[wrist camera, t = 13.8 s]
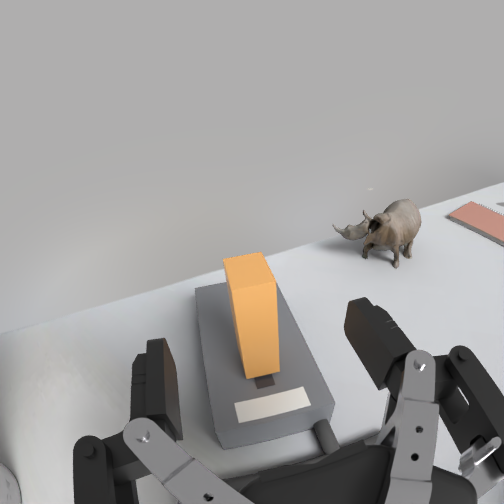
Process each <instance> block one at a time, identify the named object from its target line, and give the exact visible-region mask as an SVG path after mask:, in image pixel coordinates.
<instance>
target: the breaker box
mask: <svg viewBox="0 0 504 504" xmlns="http://www.w3.org/2000/svg"><path fill="white" fill-rule="evenodd" d="M276 291H277V312H278V336H279V364H280V372H276V373H271V374H267V375H263V376H259V377H254V378H250V379H246V376H245V372H244V368H243V364H242V361H241V357H240V353H239V349H238V345H237V339H236V334H235V328H234V322H233V317H232V311H231V305H230V299H229V293H228V287H227V282H225V283H220V284H214V285H209V286H204V287H198V288H195V295H196V304H197V313H198V321H199V329H200V337H201V345H202V352H203V359H204V366H205V373H206V380H207V386H208V393H209V399H210V405H211V411H212V417H213V422H214V428H215V433H216V435H217V437H218V439H219V441H220V443H221V446H222V448H223V450H225V449H231V448H236V447H241V446H246V445H251V444H256V443H260V442H264V441H269V440H273V439H277V438H281V437H284V436H288V435H292V434H295V433H299V432H302V431H306V430H309V429H312V428H314V426H313V425H314V423H316V422H317V421H319V420H322V419H327V420H328V422H329V423H330V420H331V417H332V413H333V409H334V406H335V401H334V399H333V397H332V395H331V393H330V391H329V388H328V386H327V384H326V382H325V380H324V378H323V376H322V374H321V372H320V370H319V368H318V366H317V364H316V362H315V360H314V358H313V356H312V354H311V352H310V350H309V347H308V345H307V343H306V341H305V339H304V337H303V335H302V333H301V331H300V329H299V327H298V325H297V323H296V321H295V319H294V317H293V315H292V313H291V311H290V309H289V307H288V305H287V303H286V301H285V299H284V297H283V295H282V293H281V291H280V289H279V287H278V285H277V283H276Z"/></svg>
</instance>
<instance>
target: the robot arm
mask: <svg viewBox="0 0 504 504" xmlns="http://www.w3.org/2000/svg"><path fill="white" fill-rule="evenodd" d="M344 331H345V335H346V337H347V339H348V340H349V342H350V344H351V345H352V347H353V349H354V350H355V352H356V353H357V355H358V357H359V358H360V360H361V362H362V363H363V365H364V367H365V368H366V370H367V372H368V373H369V375H370V377H371V378H372V380H373V382H374V383H375V385H376V387H377V388H378V390H381V389H384V388H386V387H387V388H388V389H389V393H388V397H387V403H386V408H385V413H384V418H383V423H382V427H381V430H380V433H379V435H378V437H377V440H376V443H375V444H366V445H365V443H364V441H363V440H360V441H358V442H355V443H353V444H350V445H348V446H345V447H342V448H340V449H338V450H336V451H335V452H333V453H332V454H330V455H329V456H327V457H325V458H324V459H322V460H320V461H319V462H317V463H314V464H301V465H285V466H281V467H277V468H273V469H269V470H264V471H260V472H259V477H257V478H255V479H253V480H252V481H250V482H248V483H247V484H246V485H245V486H243V487H242V488H241V489H240V490H239V491H238V492H237V491H236V490H234V489H233V488H232V487H230V486H229V485H228V484H226V483H225V482H224V481H222V480H221V479H220V478H219V477H217V476H216V475H215V474H213V473H212V472H211V471H210V470H209V469H207V468H206V467H205V466H204V465H202V464H201V463H200V462H199V461H197V460H196V459H195V458H192V457H191V456H190V455H188V454H187V453H186V452H185V451H184V450H183V449H182V448H181V447H180V446H178V445H177V444H176V440H183V435H182V426H181V417H180V407H179V396H178V384H177V372H176V366H175V362H174V359H173V357H172V354H171V352H170V349H169V346H168V344H167V341H166V339H165V338H160V339H153V340H148V341H147V350H146V353H143V354H138V355H137V357H136V359H135V361H134V362H133V364H132V382H131V384H132V386H131V412H130V421H129V423H128V424H127V425H126V426H125V428H124V430H123V431H122V432H120V433H118V434H116V435H113V436H111V437H108V438H105V439H102V440H100V439H99V438H97V437H95V436H84V437H82V438H80V439H79V440H78V441H77V442H76V444H75V446H74V449H73V483H74V503H75V504H139V501H138V495H137V488H136V479H138V478H141V477H144V476H147V475H149V474H152V473H153V474H154V475H155V476H156V477H157V478H158V479H159V481H160V482H161V483H162V484H163V486H164V487H165V488H166V489H167V490H168V491H169V492H170V493H171V494H173V495H174V496H175V497H176V498H177V499H178V500H179V501H180V502H181V503H182V504H477V499H478V498H480V497H481V496H482V495H484V494H485V493H486V492H488V491H489V490H490V489H491V488H493V487H494V486H495V485H496V484H497V483H499V482H500V481H502V480H504V396H503V394H502V393H501V391H500V390H499V388H498V387H497V385H496V384H495V382H494V381H493V380H492V378H491V377H490V375H489V374H488V373H487V371H486V370H485V368H484V367H483V366H482V364H481V363H480V361H479V360H478V359H477V357H476V356H475V355H474V353H473V352H472V351H471V350H470V349H469V348H467V347H465V346H455V347H453V348H452V349H451V351H450V352H449V354H448V355H441V356H432V355H431V354H429V353H428V352H426V351H423V350H417V349H416V348H415V347H414V346H413V344H412V343H411V342H410V340H409V339H408V338H407V337H406V335H405V334H404V333H403V331H402V330H401V329H400V328H399V327H398V325H397V324H396V323H395V321H393V319H392V318H391V316H390V315H389V314H388V313H387V311H385V310H384V309H382V308H381V307H379V306H378V305H376V306H373V305H372V304H371V302H370V301H369V300H368V299H367V298H366V297H363V298H359V299H355V300H352V301H349V303H348V307H347V313H346V318H345V323H344ZM458 387H459V388H460V389H461V391H462V392H463V394H464V396H465V397H466V399H467V400H468V402H469V405H468V404H467V402H466V400H465V399H464V397H463V396H462V394H461V393H460V391H459V389H458ZM439 415H440V417H441V418H442V420H443V422H444V424H445V426H446V427H447V429H448V431H449V433H450V435H451V437H452V438H453V440H454V442H455V444H456V446H457V448H458V450H459V452H460V454H461V457H460V465H459V467H458V470H459V472H460V473H462V476H460V475H457V474H455V473H452V472H449V471H446V470H444V469H441V468H439V467H436V466H433V461H434V454H435V447H436V439H437V430H438V419H439ZM0 504H21V495H20V489H19V486H18V483H17V481H16V479H15V477H14V475H13V474H12V473H11V471H10V470H9V469H8V468H7V467H6V466H4V465H3V464H1V463H0Z"/></svg>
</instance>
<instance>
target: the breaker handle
mask: <svg viewBox="0 0 504 504" xmlns="http://www.w3.org/2000/svg"><path fill="white" fill-rule="evenodd" d="M223 263H224V269H225V275H226V281H227V287H228V293H229V299H230V305H231V311H232V317H233V322H234V328H235V334H236V339H237V345H238V349H239V353H240V357H241V361H242V364H243V368H244V372H245V376H246V379H250V378H254V377H259V376H263V375H267V374H271V373H276V372H280V364H279V336H278V312H277V291H276V280H275V278H274V276H273V274H272V272H271V270H270V268H269V266H268V264H267V262H266V260H265V258H264V256H263V254H262V252H258V253H252V254H247V255H242V256H237V257H231V258H226V259H223Z"/></svg>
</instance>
